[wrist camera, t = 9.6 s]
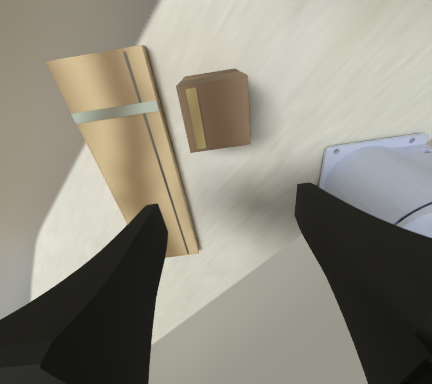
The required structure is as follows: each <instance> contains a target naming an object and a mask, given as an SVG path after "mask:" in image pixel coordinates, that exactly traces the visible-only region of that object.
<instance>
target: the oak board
mask: <svg viewBox="0 0 432 384" xmlns="http://www.w3.org/2000/svg"><path fill="white" fill-rule="evenodd" d="M46 63H47V65H48V67H49V69H50V71H51V73H52V75H53V77H54V79H55V81H56V83H57V85H58V87H59V89H60V91H61V93H62V95H63V97H64V99H65V101H66V103H67V105H68V107H69V109H70V111H71V113H72V117H73V119H74V120H75V123H76V124H77V125H78V127H79V129H80V131H81V133H82V135H83V137H84V139H85V141H86V143H87V145H88V147H89V149H90V151H91V153H92V155H93V157H94V159H95V161H96V163H97V165H98V167H99V169H100V171H101V173H102V175H103V177H104V179H105V181H106V183H107V185H108V187H109V189H110V191H111V193H112V195H113V197H114V199H115V201H116V203H117V205H118V207H119V209H120V211H121V213H122V215H123V217H124V219H125V221H126V223H127V225H128V224H129V223H130V222H131V220H132V219H133V218H134V217H135V216H136V215H137V214H138V213H139V212H140V211H141V210H142V209H143V208H144V207H145V206H146V205H150V204H157V203H158V205H159V208H160V211H161V213H162V216H163V219H164V221H165V224H166V227H167V230H168V242H167V251H166V255H165V258H166V257H174V256H182V255H190V254H198V253H199V246H198V242H197V238H196V235H195V231H194V227H193V223H192V220H191V216H190V212H189V208H188V205H187V201H186V197H185V194H184V190H183V186H182V182H181V179H180V175H179V171H178V167H177V164H176V160H175V156H174V153H173V149H172V145H171V141H170V138H169V134H168V130H167V126H166V123H165V119H164V115H163V112H162V108H161V104H160V100H159V97H158V93H157V89H156V85H155V82H154V78H153V74H152V71H151V67H150V63H149V59H148V56H147V52H146V48H145V46H143V45H140V46H134V47H128V48H122V49H117V50H111V51H105V52H99V53H93V54H88V55H82V56H75V57H70V58H64V59H58V60H52V61H46Z"/></svg>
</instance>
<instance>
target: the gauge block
mask: <svg viewBox="0 0 432 384" xmlns="http://www.w3.org/2000/svg"><path fill="white" fill-rule="evenodd" d="M176 88H177V93H178V97H179V102H180V106H181V111H182V116H183V120H184V125H185V129H186V134H187V138H188V143H189V148H190V152H191V153H193V152H200V151H207V150H214V149H220V148H227V147H234V146H241V145H248V144H251V141H250V120H249V98H248V77H247V75H246V74H244V73H242V72H240V71H238V70H236V69H230V70H223V71H217V72H211V73H205V74H199V75H192V76H186V77H184V78H183V79H182V81H181V82H180V83H179V84H178V85H177V86H176Z"/></svg>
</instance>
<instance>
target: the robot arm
mask: <svg viewBox="0 0 432 384" xmlns="http://www.w3.org/2000/svg"><path fill="white" fill-rule="evenodd" d="M410 139H411V140H410ZM427 140H428V134H425V133H417V134H410V135H403V136H396V137H389V138H382V139H375V140H369V141H362V142H355V143H348V144H341V145H334V146H329V147H327V148H326V149H325V151H324V157H323V163H322V170H321V176H320V182H319V187H318V186H316V185H314V184H312V183H303V184H297V195H296V205H295V218H296V220H297V223H298V225H299V228H300V230H301V233H302V234H303V236H304V238H305V240H306V241H307V243H308V245H309V247H310V249H311V250H312V252H313V254H314V256H315V257H316V259H317V261H318V262H319V264H320V266H321V268H322V270H323V272H324V273H325V275H326V277H327V280H328V282H329V284H330V286H331V289H332V291H333V293H334V295H335V298H336V300H337V302H338V305H339V307H340V310H341V312H342V314H343V317H344V319H345V322H346V324H347V327H348V330H349V332H350V335H351V337H352V340H353V342H354V345H355V348H356V350H357V353H358V356H359V359H360V361H361V364H362V367H363V370H364V372H365V376H366V379H367V382H368V384H432V147H430V146H428V145H426V142H427ZM336 149H337V151H336V152H334V151H335V150H336ZM167 242H168V230H167V227H166V224H165V221H164V219H163V216H162V213H161V211H160V208H159V205H158V203H157V204H150V205H146V206H145V207H144V208H143V209H142V210H141V211H140V212H139V213H138V214H137V215H136V216H135V217H134V218H133V219H132V220H131V222H130V223H129V224H128V225H127V226H126V227H125V228H124V229H123V230H122V231H121V232H120V233H119V234H118V235H117V236H116V237H115V238H114V239H113V240H112V241H111V242H110V243H109V244H108V245H107V246H105V247H104V248H103V249H102V250H101V251H100V252H99V253H98V254H96V255H95V256H94V257H93V258H92V259H90V260H89V261H88V262H87V263H86V264H84V265H83V266H82V267H81V268H79V269H78V270H77V271H75V272H74V273H72V274H71V275H70V276H68V277H67V278H66V279H64V280H63V281H62V282H60V283H59V284H57V285H56V286H54V287H53V288H51V289H50V290H48V291H47V292H45V293H44V294H42V295H41V296H39V297H38V298H36V299H35V300H33V301H31V302H30V303H28V304H27V305H25V306H23V307H22V308H20V309H18V310H17V311H15V312H13V313H11V314H10V315H8V316H6V317H5V318H3V319H1V320H0V384H148V379H149V363H150V351H151V339H152V329H153V319H154V311H155V303H156V296H157V291H158V286H159V282H160V277H161V273H162V269H163V264H164V260H165V255H166V251H167Z"/></svg>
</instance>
